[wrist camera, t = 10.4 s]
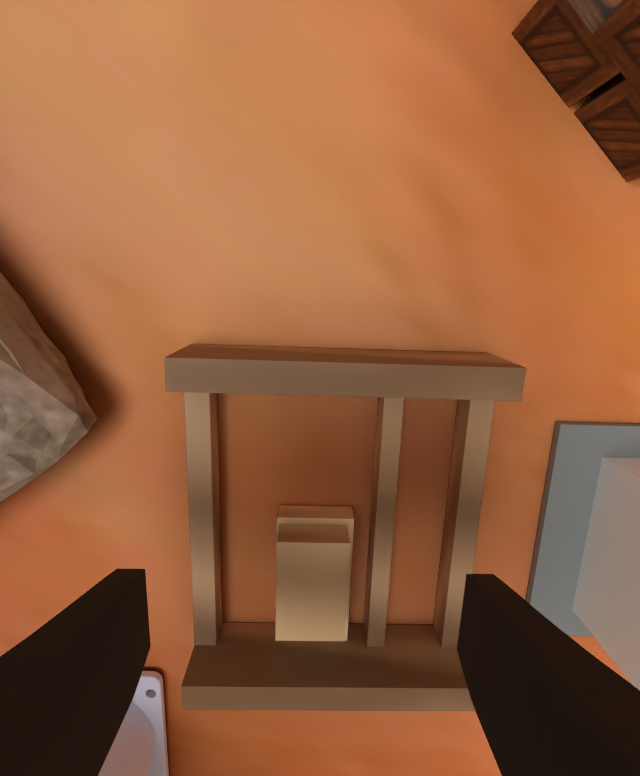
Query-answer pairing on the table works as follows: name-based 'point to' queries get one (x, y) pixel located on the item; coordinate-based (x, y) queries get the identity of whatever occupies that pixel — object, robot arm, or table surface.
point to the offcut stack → (313, 572)
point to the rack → (374, 637)
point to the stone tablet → (34, 397)
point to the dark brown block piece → (592, 68)
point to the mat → (571, 513)
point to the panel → (614, 566)
